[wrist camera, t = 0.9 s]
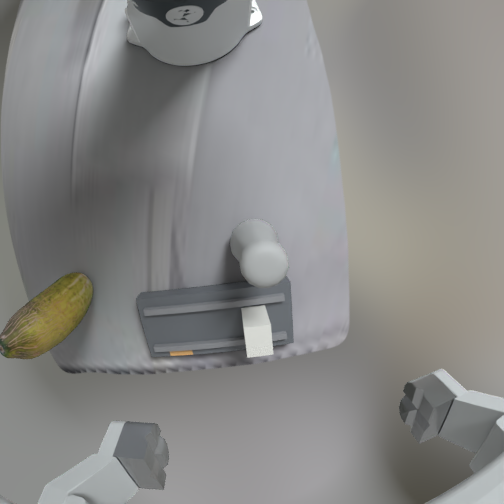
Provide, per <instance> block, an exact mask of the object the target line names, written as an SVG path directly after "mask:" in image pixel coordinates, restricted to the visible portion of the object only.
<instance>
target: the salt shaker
mask: <svg viewBox="0 0 504 504" xmlns="http://www.w3.org/2000/svg"><path fill="white" fill-rule="evenodd" d="M230 247H231V253H232V254H233V255H234V257H235V258H236V259H237V260H238V261H239V262H240V269H241V274H242V275H243V276H244V278H245V279H246V280H247V281H248V283H249V284H251V285H253V286H255V287H257V288H270V287H273V286H275V285H278V284H279V283H280V282H281V281H282V280H283V279H284V278H285V277H286V274H287V271H288V268H289V263H288V257H287V253H286V252H285V250H284V249H283V247H282V246H281V245H280V244H279V243H278V236H277V233H276V231H275V230H274V228H273V227H272V226H271V224H269V223H267V222H265V221H263V220H261V219H249V220H246V221H244V222H242V223H240V224H239V225H238V226H237V227H236V228H235V229H234V230H233V232H232V235H231V239H230Z"/></svg>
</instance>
